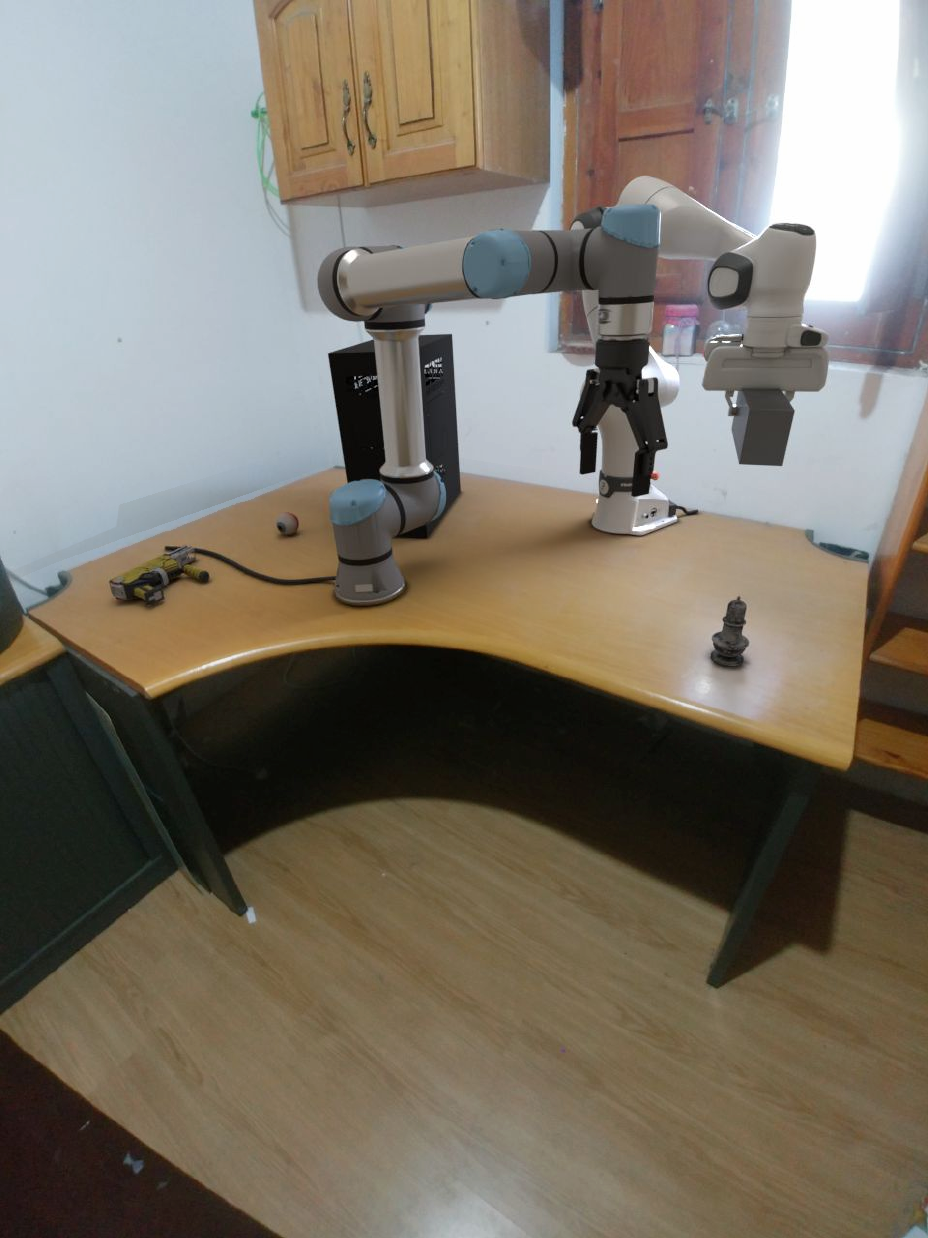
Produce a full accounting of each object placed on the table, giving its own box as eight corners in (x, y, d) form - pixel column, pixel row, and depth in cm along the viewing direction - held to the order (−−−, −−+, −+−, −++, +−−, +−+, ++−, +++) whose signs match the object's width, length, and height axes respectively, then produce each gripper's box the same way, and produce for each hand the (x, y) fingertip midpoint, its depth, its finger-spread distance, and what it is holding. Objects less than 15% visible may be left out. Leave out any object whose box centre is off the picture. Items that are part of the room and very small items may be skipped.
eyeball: (273, 537, 164) (268, 516, 161) (287, 528, 169) (282, 508, 166) (291, 539, 161) (286, 518, 158) (305, 530, 166) (301, 510, 163)
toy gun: (232, 553, 147) (182, 542, 151) (158, 593, 127) (102, 580, 131) (234, 570, 150) (185, 559, 154) (162, 613, 130) (107, 599, 134)
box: (731, 429, 118) (739, 382, 113) (767, 430, 116) (777, 382, 111) (738, 464, 98) (749, 409, 94) (782, 466, 97) (795, 410, 92)
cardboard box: (427, 537, 157) (411, 350, 135) (355, 534, 162) (327, 353, 139) (460, 491, 189) (452, 333, 166) (399, 490, 194) (383, 336, 171)
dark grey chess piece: (748, 668, 101) (762, 605, 95) (711, 665, 102) (722, 603, 96) (741, 649, 106) (754, 588, 100) (706, 647, 107) (717, 586, 101)
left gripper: (553, 333, 94) (550, 468, 105) (661, 345, 74) (644, 510, 85) (593, 329, 97) (586, 461, 107) (708, 340, 77) (686, 500, 87)
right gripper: (707, 336, 105) (695, 418, 112) (839, 335, 99) (818, 421, 106) (706, 332, 110) (695, 411, 117) (832, 330, 104) (812, 413, 111)
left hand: (612, 483), depth 96 cm, fingers open, 13 cm apart
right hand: (754, 416), depth 112 cm, fingers closed on box, 6 cm apart
